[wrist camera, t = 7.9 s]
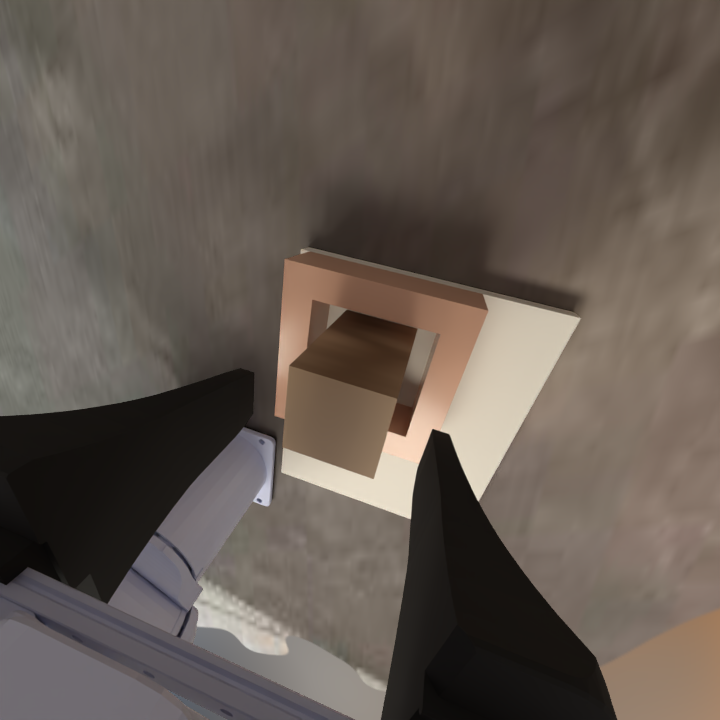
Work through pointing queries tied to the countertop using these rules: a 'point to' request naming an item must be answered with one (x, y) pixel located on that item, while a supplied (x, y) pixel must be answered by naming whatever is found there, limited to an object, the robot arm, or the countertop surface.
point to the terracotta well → (391, 302)
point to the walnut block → (347, 391)
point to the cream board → (460, 396)
